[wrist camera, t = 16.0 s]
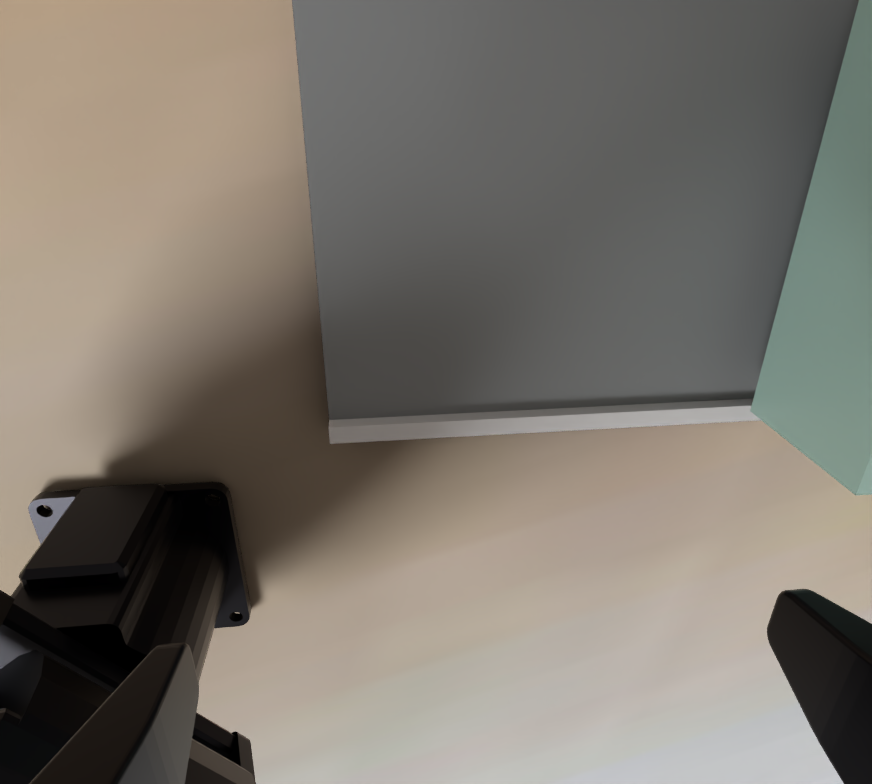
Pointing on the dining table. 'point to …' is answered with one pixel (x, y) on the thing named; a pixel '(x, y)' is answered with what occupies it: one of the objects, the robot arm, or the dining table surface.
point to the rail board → (555, 205)
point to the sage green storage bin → (830, 292)
